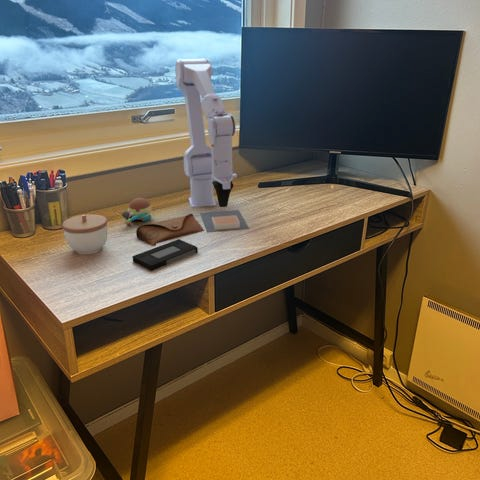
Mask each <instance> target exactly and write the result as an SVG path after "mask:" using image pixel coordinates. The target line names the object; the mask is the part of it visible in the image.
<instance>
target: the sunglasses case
mask: <svg viewBox="0 0 480 480" xmlns="http://www.w3.org/2000/svg"><path fill="white" fill-rule="evenodd" d="M204 231H206V229H205V228H203V226H201V224H200V223H199V222H198V220H197V219H196V218H195V216H194V215H193V213H189V214H186V215H184V216H179V217H174V218H169V219H165V220H162V221H158V222H153V223H147V224H143V225H142V224H141V225H139V226H138V227H137V229H136V232H135V233H136V238H137V239H138V240H140V241H142V242H143V243H145V244H147V245H149V246H150V247H154V246H155V247H156V245H157V244H160V243H162V242H166V241H169V240H170V241H171V240H173V239H177V238H180V237H185V236H188V235H192V234H195V233H196V234H197V233H200V232H201V233H202V232H204Z"/></svg>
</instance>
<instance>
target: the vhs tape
mask: <svg viewBox="0 0 480 480" xmlns="http://www.w3.org/2000/svg"><path fill="white" fill-rule="evenodd" d="M198 250H199V249H198V246H196V245H194V244H191V243H190V242H187V241H184V240H182V239H181V238H178V239H175V240H172V241H170V242H167V243H164V244H161V245H159V246H157V247H156V246H155V247H154V248H151V249H148V250H146V251H145V250H144V251H143V252H140V253H137V254H135V255H133V256H132V262H133V264H134V263H135V264H136V265H138V266H139V267H142V268H143V269H146V270H148V271H150V272H154V271H156V270H158V269H159V270H160V269H161V268H163V267H166V266H167V265H170V264H173V263H175V262H177V261H181V260H182V259H185V258H187V257H189V256H192V255H195V254H198V252H199V251H198Z"/></svg>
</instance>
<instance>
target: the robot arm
mask: <svg viewBox="0 0 480 480" xmlns="http://www.w3.org/2000/svg"><path fill="white" fill-rule="evenodd" d="M174 67H175V68H174V70H175V81H176V85H177V89H178V90H179V91H180V92H182V93H183V97H184V98H183V99H184V103H185V104H184V105H185V110H186V111H185V112H186V119H187V125H188V135H189V140H190V146H189V148H187V150H185V152H184V153H183V170H184V174H185V175H186V177H188V178H189V183H190V197H188V200H189V204H190V207H191V208H199V207H200V208H201V207H214V206H215V207H216V206H217V203H218V205H219V208H226V207H228V205H229V200H230V199H229V198H230V195H231V192H232V189H233V188H234V183H233V180H234V179H236V178H237V176H238V175H237V173H233V136H235V134H236V121H235V118H234V115H233V114H231V113H230V112H228V111H227V110H226V107H225V106H224V103H223V101H222V98H221V97H220V96H219V95H218V94H216V93H215V92H214V87H213V85H212V81H211V79H212V74H213V66H212V62H211V61H210V58H208V57H204V58H183V59H182V58H177V60H176V62H175V66H174ZM201 99H202V100H201ZM203 114H204V116H205V118H206V120H207V124H206V128H207V134H208V140H209V144H210V146H209V145H207V140H206V131H205V125H204V123H205V122H204V117H203ZM214 190H215V192H216V197H217V203H216V201H215V198H214Z"/></svg>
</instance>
